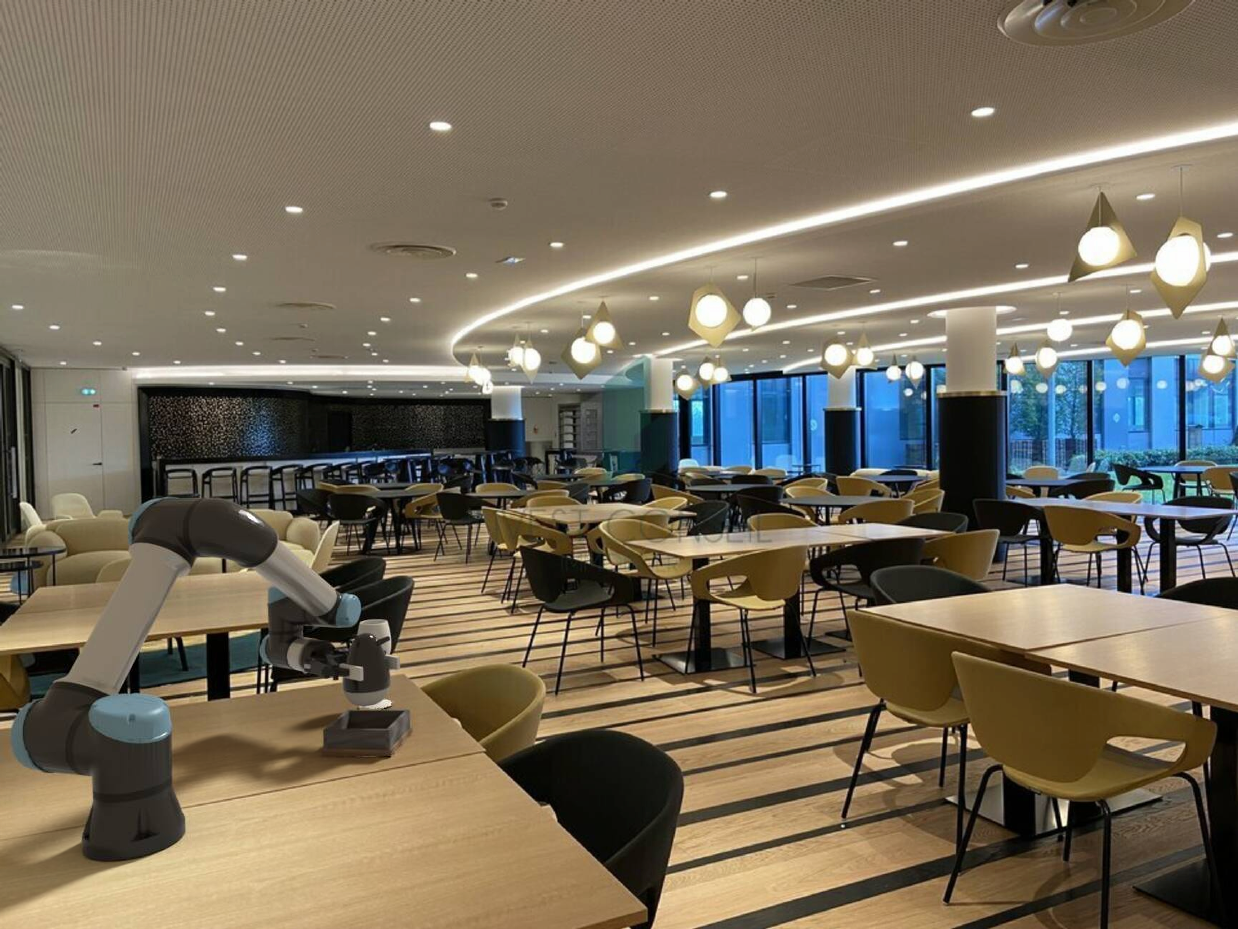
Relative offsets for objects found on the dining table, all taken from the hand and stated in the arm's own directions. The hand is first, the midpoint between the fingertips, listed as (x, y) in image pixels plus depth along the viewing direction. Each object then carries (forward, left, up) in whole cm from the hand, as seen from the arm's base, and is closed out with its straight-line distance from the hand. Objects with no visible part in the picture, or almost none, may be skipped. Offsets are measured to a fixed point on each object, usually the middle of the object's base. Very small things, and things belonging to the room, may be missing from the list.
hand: (380, 668), depth 191 cm
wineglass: (+30, +12, -17) cm, 37 cm away
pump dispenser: (+2, +4, -8) cm, 9 cm away
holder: (+2, +4, -17) cm, 18 cm away
